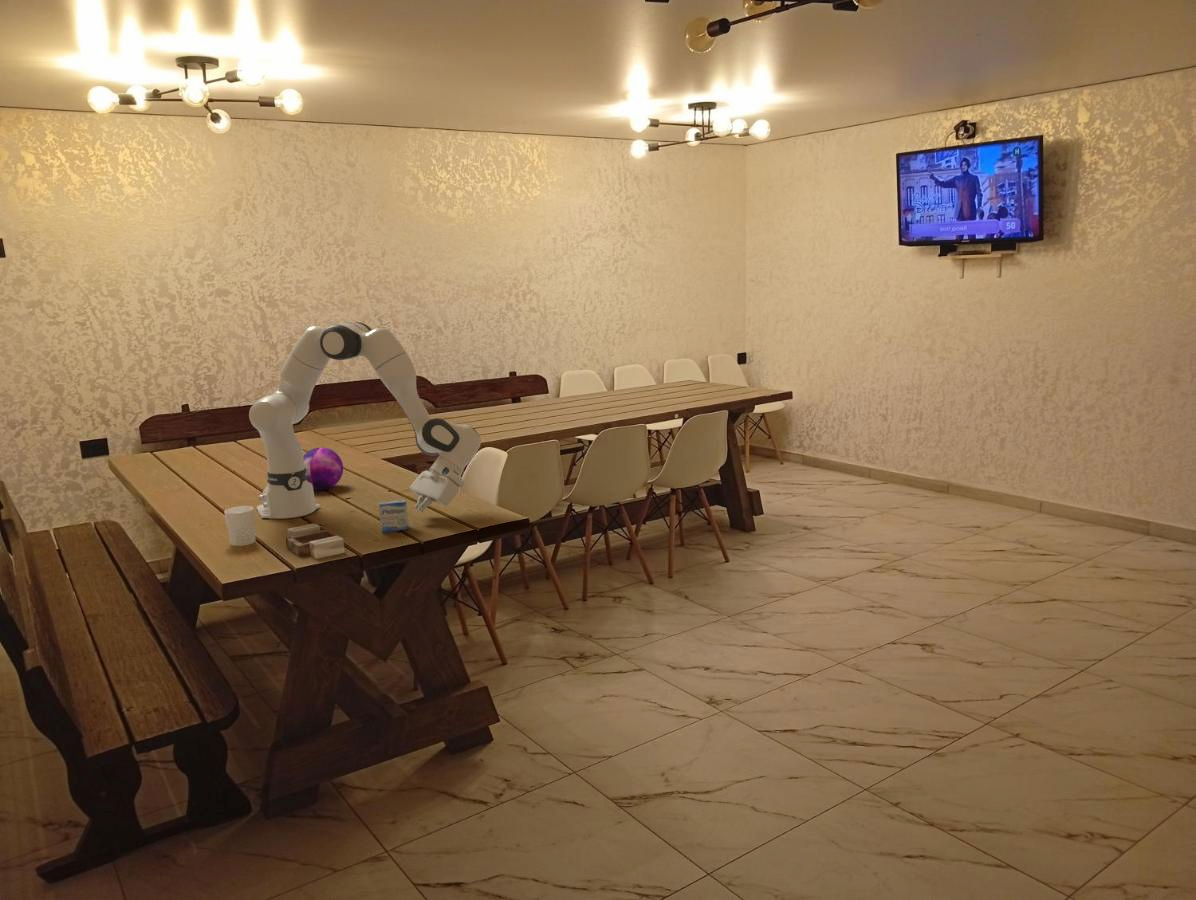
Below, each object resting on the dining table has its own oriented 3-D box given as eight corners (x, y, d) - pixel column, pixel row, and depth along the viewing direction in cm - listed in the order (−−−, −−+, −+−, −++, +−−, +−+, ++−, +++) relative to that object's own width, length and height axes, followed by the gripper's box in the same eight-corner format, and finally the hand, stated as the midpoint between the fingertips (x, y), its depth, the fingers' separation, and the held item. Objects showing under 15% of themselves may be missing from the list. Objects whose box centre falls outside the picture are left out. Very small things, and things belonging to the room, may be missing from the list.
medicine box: (381, 533, 265) (378, 504, 263) (380, 529, 269) (378, 501, 267) (408, 530, 267) (406, 501, 265) (407, 526, 271) (405, 498, 269)
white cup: (261, 538, 264) (257, 505, 262) (252, 546, 257) (248, 512, 255) (234, 539, 264) (230, 506, 262) (224, 547, 256) (219, 513, 254)
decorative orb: (351, 483, 327) (347, 443, 324) (334, 494, 313) (330, 452, 310) (312, 484, 330) (308, 444, 326) (293, 494, 315) (289, 452, 312)
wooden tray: (280, 544, 258) (278, 530, 257) (319, 535, 264) (317, 522, 264) (307, 561, 241) (305, 547, 240) (348, 551, 248) (346, 537, 247)
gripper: (421, 461, 282) (395, 498, 278) (453, 472, 266) (426, 510, 262) (435, 473, 285) (409, 509, 281) (468, 484, 269) (441, 522, 266)
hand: (418, 510), depth 272 cm, fingers closed
